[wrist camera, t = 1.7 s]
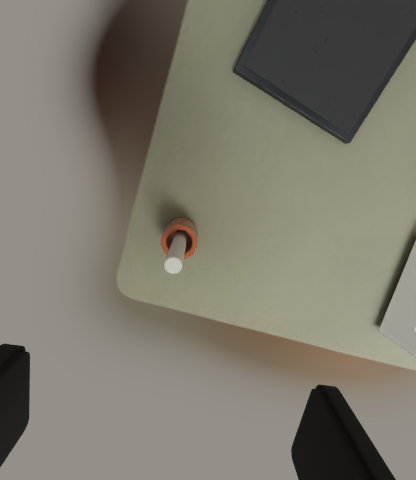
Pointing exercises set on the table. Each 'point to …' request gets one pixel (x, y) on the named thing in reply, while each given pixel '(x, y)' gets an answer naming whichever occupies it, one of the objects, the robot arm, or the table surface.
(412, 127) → the table surface
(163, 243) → the pen holder
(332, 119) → the tablet
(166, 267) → the stylus
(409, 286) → the bracket
